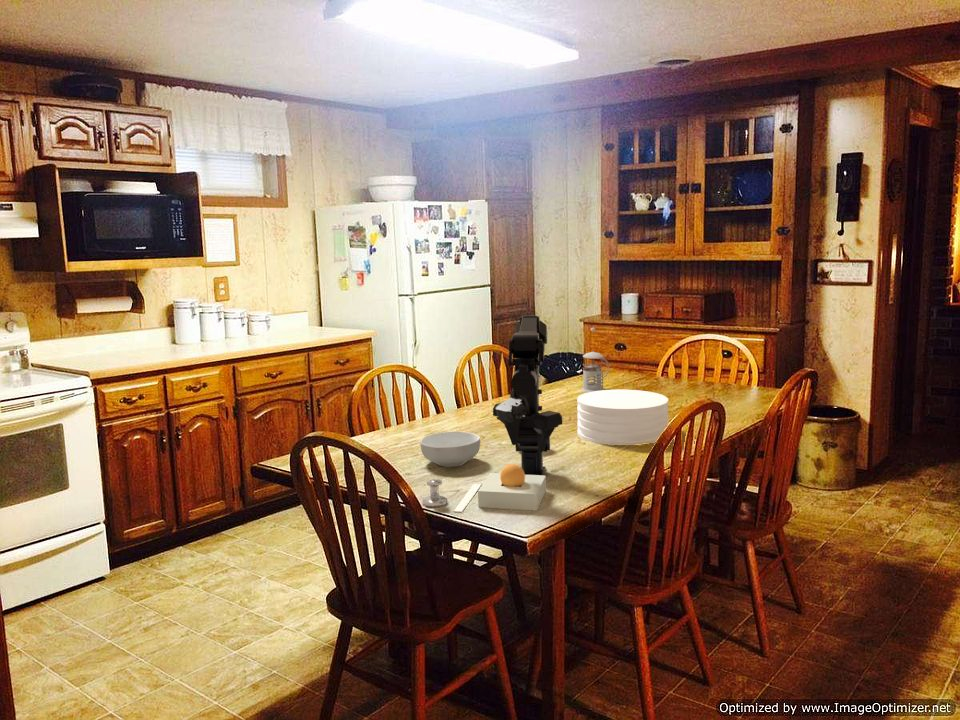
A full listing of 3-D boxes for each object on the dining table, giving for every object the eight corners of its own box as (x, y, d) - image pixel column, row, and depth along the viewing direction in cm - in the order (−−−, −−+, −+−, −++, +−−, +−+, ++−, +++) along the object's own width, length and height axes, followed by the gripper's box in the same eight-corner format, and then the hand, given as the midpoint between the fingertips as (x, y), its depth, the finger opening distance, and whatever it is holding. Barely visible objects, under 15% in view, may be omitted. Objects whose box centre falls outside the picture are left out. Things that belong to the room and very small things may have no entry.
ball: (508, 476, 199) (495, 463, 196) (529, 469, 197) (516, 456, 193) (508, 496, 195) (495, 484, 192) (529, 489, 193) (516, 476, 189)
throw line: (473, 484, 207) (473, 483, 207) (481, 485, 206) (481, 484, 206) (453, 511, 187) (453, 511, 187) (461, 512, 187) (461, 511, 187)
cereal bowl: (448, 451, 238) (448, 428, 237) (492, 460, 228) (492, 436, 226) (408, 465, 225) (407, 440, 224) (453, 475, 215) (452, 450, 214)
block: (491, 488, 204) (490, 473, 203) (545, 491, 200) (545, 475, 200) (478, 507, 190) (478, 490, 189) (536, 510, 187) (536, 494, 186)
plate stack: (669, 425, 262) (670, 390, 260) (665, 448, 236) (666, 410, 234) (584, 421, 270) (583, 388, 268) (571, 444, 243) (570, 407, 241)
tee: (426, 498, 197) (425, 476, 196) (450, 499, 196) (449, 478, 195) (419, 506, 191) (418, 484, 191) (443, 508, 190) (442, 485, 189)
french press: (576, 388, 322) (576, 326, 318) (602, 386, 325) (603, 325, 321) (587, 393, 313) (586, 329, 309) (614, 391, 316) (614, 328, 312)
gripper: (475, 385, 195) (477, 447, 198) (530, 397, 181) (531, 464, 184) (508, 378, 202) (510, 438, 205) (563, 389, 188) (564, 453, 191)
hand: (527, 448), depth 196 cm, fingers open, 9 cm apart
